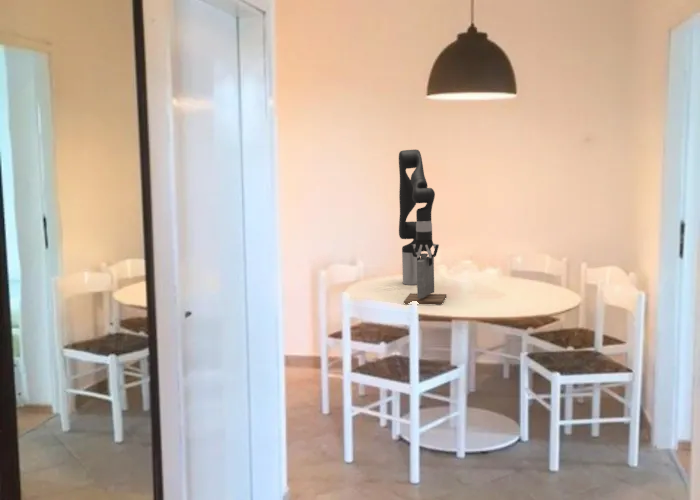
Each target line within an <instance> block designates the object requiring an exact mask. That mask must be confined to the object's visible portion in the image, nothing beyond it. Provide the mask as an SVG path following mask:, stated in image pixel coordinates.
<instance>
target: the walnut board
mask: <svg viewBox="0 0 700 500" xmlns="http://www.w3.org/2000/svg"><path fill="white" fill-rule="evenodd" d="M447 295H448V294H447V293H431V294H429V295H427V296H425V297H424V298H417V293H409V294H408V295H407V296H406V298H405V299H404V300H403V304H404V303H405V304H404V305H409V304H408V303H410V302H412V301H417V302H418V303H419V304H442V303H443V304H444V302H445V301H444V300H446V299H447ZM445 298H446V299H445ZM443 301H444V302H443ZM443 304H442V305H443Z"/></svg>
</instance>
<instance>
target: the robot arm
mask: <svg viewBox="0 0 700 500" xmlns="http://www.w3.org/2000/svg"><path fill="white" fill-rule="evenodd" d="M398 169H399V191H398V193H399V221H398V222H399V223H398V236H399V238H400V239H401V240H412V241H411V242H409V243H408V244H406V245H403V246H402V248H401V256H402V257H401V258H402V284H403V285H408V286H409V285H410V286H411V285H412V286H414V285H417V261H418V260H419V259H421V256H420V254H422V253H423V252H427V254H428V257H429V266H431V265H432V263H433V262H432V258H433V257H434V258H435V257H437V254H438V251H439V246H440V244H438V243H434V242H433V223H432V210H433V204H434V201H435V197H436V192H435V190H434V189H433V188H431V187H428V182H427V179H426V176H425V171H424V165H423V158H422V153H421V151H419V149H405V150H400V151H399V152H398ZM407 169H414V171H413V172H412V174H411V176H410V177H409V175H408V173H407ZM417 204H425V206H423V207H420V208H417V209H416V212H415V213H416V221H407V219H408V216H409V215H410V213H411V212H412V210H413V209H414V208H415V207H416V205H417ZM432 247H433V249H434V251H433V253H432V249H431V248H432Z"/></svg>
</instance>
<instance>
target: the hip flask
mask: <svg viewBox="0 0 700 500" xmlns="http://www.w3.org/2000/svg"><path fill="white" fill-rule="evenodd" d="M420 258H421V259H419V260H418V261H417V284H416V288H417V289H416V290H417V291H416V294H417V298H424V297H425V296H427V295H429V294H435V263H434V262H435V259H434V258H435V257H433V258H432V262H433V263H432V265H431V266H429V255H428V253H421V254H420Z"/></svg>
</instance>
